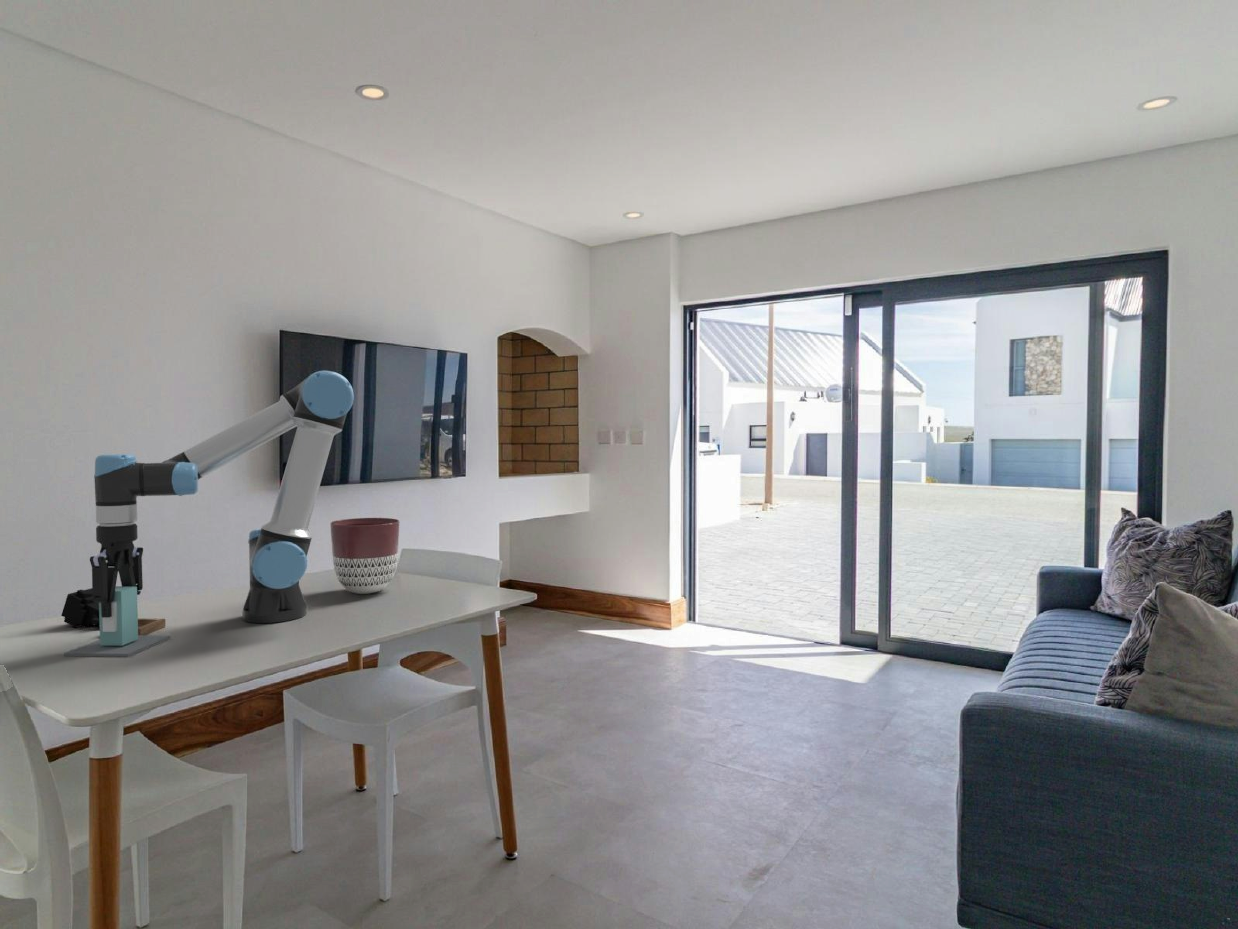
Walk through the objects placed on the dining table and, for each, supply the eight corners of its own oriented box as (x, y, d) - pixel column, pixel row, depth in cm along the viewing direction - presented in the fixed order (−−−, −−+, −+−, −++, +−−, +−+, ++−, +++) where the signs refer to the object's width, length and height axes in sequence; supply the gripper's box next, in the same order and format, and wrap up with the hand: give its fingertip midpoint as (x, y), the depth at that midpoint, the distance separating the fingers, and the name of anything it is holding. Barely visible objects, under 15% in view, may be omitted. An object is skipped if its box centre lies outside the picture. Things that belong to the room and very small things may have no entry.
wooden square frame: (165, 626, 177) (165, 618, 177) (140, 637, 168) (140, 628, 168) (129, 626, 178) (129, 618, 178) (102, 636, 169) (102, 628, 169)
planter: (317, 598, 209) (316, 524, 208) (353, 584, 228) (352, 517, 227) (380, 601, 206) (379, 526, 205) (410, 587, 225) (410, 518, 224)
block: (138, 639, 163) (136, 586, 163) (122, 645, 158) (121, 591, 158) (116, 638, 163) (115, 586, 163) (100, 645, 158) (98, 591, 158)
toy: (116, 615, 172) (64, 590, 174) (106, 645, 173) (55, 621, 175) (147, 605, 181) (98, 582, 183) (138, 635, 182) (89, 611, 184)
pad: (170, 638, 168) (170, 635, 168) (128, 656, 154) (128, 654, 154) (111, 637, 168) (111, 634, 168) (63, 655, 154) (63, 653, 154)
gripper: (128, 518, 169) (131, 617, 170) (68, 529, 151) (71, 639, 152) (160, 519, 169) (162, 617, 170) (103, 529, 151) (106, 639, 152)
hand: (119, 627), depth 161 cm, fingers closed on block, 5 cm apart
